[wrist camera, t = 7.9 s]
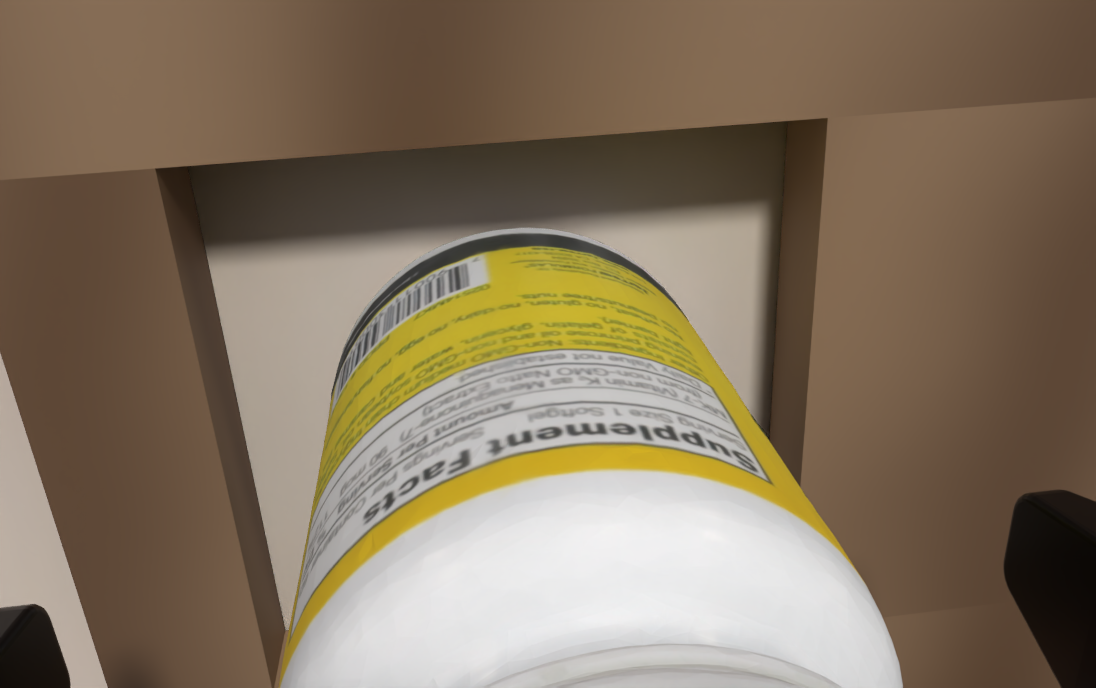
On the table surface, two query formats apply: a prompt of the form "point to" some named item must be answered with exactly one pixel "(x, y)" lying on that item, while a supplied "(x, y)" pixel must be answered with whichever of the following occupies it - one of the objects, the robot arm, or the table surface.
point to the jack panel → (546, 113)
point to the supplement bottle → (560, 497)
